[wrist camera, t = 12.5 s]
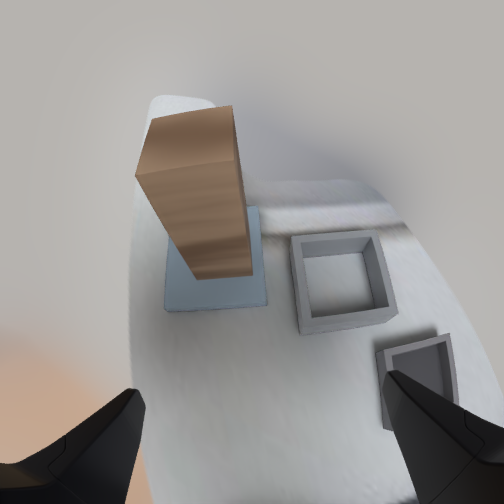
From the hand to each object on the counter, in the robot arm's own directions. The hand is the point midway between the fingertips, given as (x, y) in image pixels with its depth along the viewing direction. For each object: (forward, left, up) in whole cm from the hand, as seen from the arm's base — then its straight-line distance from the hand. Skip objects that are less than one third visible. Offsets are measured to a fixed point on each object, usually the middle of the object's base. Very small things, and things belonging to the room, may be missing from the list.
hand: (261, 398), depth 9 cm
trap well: (-1, -13, -14) cm, 19 cm away
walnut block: (+13, +3, -13) cm, 18 cm away
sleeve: (+9, -7, -14) cm, 18 cm away
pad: (+13, +4, -14) cm, 19 cm away
